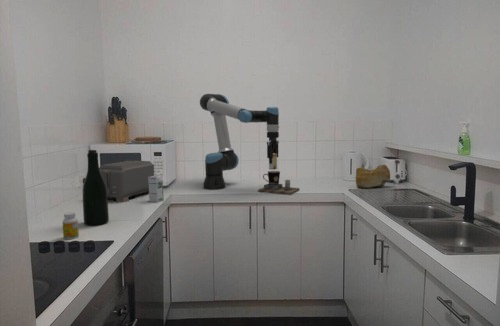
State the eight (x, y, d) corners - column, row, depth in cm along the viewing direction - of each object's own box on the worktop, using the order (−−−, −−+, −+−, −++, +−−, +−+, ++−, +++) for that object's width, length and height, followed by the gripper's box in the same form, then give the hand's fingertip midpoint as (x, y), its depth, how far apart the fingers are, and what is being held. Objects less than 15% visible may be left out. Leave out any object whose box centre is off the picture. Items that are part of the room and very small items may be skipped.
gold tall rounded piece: (267, 169, 235) (267, 153, 234) (270, 168, 240) (270, 153, 238) (275, 169, 232) (275, 153, 231) (278, 168, 237) (278, 153, 236)
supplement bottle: (60, 238, 144) (58, 214, 143) (71, 234, 149) (70, 211, 148) (70, 240, 142) (69, 215, 141) (81, 236, 147) (80, 212, 146)
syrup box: (157, 202, 206) (157, 176, 204) (149, 201, 208) (148, 176, 206) (163, 200, 211) (162, 175, 210) (155, 199, 213) (154, 175, 212)
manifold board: (258, 192, 234) (257, 180, 233) (268, 187, 248) (268, 176, 247) (290, 194, 224) (290, 182, 223) (299, 190, 238) (299, 178, 237)
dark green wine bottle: (96, 218, 172) (92, 148, 169) (114, 221, 168) (110, 149, 165) (78, 224, 163) (73, 150, 159) (96, 227, 159) (92, 151, 155)
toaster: (92, 201, 211) (90, 166, 208) (132, 190, 243) (130, 159, 241) (119, 204, 204) (117, 167, 201) (156, 192, 236) (155, 160, 234)
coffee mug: (280, 184, 259) (280, 170, 258) (280, 187, 251) (280, 172, 250) (263, 184, 260) (263, 170, 259) (263, 186, 252) (262, 172, 251)
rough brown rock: (381, 185, 259) (380, 164, 258) (393, 187, 242) (392, 164, 242) (349, 187, 256) (348, 165, 256) (359, 189, 240) (358, 166, 239)
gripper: (272, 132, 224) (272, 169, 226) (283, 131, 240) (283, 166, 242) (261, 132, 227) (261, 169, 230) (273, 131, 243) (273, 166, 246)
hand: (272, 167), depth 236 cm, fingers closed on gold tall rounded piece, 5 cm apart
